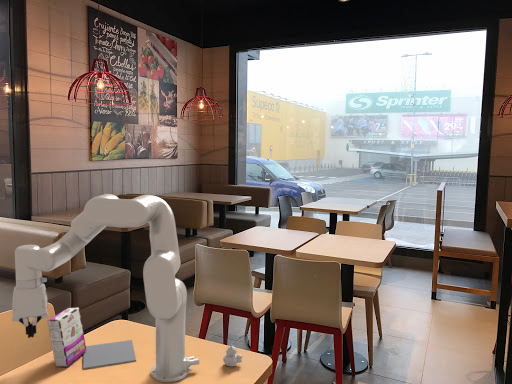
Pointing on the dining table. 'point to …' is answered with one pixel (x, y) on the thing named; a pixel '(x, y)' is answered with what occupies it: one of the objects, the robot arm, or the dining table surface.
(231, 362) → the white lumpy figure
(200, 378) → the dining table surface
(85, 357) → the mat
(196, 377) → the dining table surface
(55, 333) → the candy bar box
